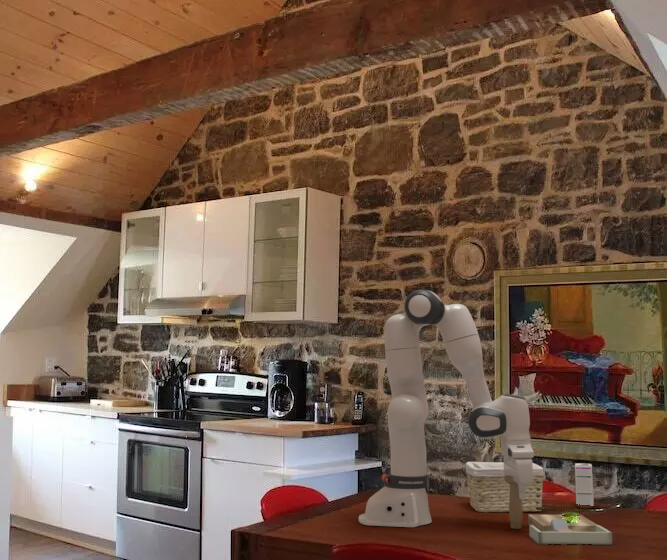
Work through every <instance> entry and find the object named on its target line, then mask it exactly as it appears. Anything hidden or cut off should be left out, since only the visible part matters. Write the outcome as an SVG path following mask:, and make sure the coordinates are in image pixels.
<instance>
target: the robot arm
mask: <svg viewBox="0 0 667 560" xmlns="http://www.w3.org/2000/svg"><path fill="white" fill-rule="evenodd" d="M403 306H404V307H403V309H404V312H402V313H398V314H394V315H391V316H390V317H389V318H387V320H386V322H385V325H384V326H385V327H384V350H385V351H384V353H385V355H384V356H385V364H386V375H387V379H388V383H389V386H390V387H389V388H390V392H391V398H392V400H391V401H390V403H389V404H388V407H387V423H388V424H387V425H388V436H389V445H390V473H388V474H387V473H383V474H382V475H381V480H382V481H383V487H382V488H380V489H379V490H378V491H377V492H375V493H374V494H373V495H372V496H370V497H369V499H368V500H367V502H366V505H365V506H366V507H365V512H364V513H362V514H359V516H358V522H359V523H360V524H361V525H365V526H377V527H397V528H398V527H399V528H401V527H402V528H403V527H404V528H417V527H419V526H424V525H428V524H431V523H432V522H433V520H432V517H431V512H430V507H429V499H428V493H429V475H428V473H427V447H426V436H425V421H427V418H428V416H429V404H428V402H429V401H428V397H427V389H426V385H425V379H424V374H423V366H422V365H423V363H422V354H421V345H420V331H421V330H424V329H425V328H428V327H430V326H433V325H434V326H435V327H437V329H438V330H439V332H440V335H441V338H442V342H443V346H444V348H445V351H446V354H447V356H448V358H449V360H450V362H451V365H453V367H455V369H457V371H458V372H459V373H460V374H461V376H462V377H463V379H464V382H465V384H466V389H467V391H468V393H469V398H470V401H471V403H472V411H471V413H470V414H469V417H468V426H469V429H470V431H471V432H472V433H473V434H474V435H475V436H477V437H478V438H483V439H486V438H487V439H489V438H492V437H496V436H499V437H500V455H502V456H503V462H504V475H505V476H508V475H509V476H511V477H512V478H513V481H515V482H516V483H518V487H519V492H518V497H519V498H520V499H525V498H526V495H525V493H526V488H527V485H530V484H531V482H532V463H533V459H532V458H534V457H535V452H534V450H533V448H532V443H531V442H532V441H531V435H530V434H531V433H530V426H531V419H530V410H529V405H528V401H527V400H526V399H525V398H524V397H523V396H520V395H516V394H509V393H505V394H501V395H500V396H499V397H498V398H496V399H494V400H493V397H492V396H491V392H490V388H489V386H488V383H487V379H486V376H485V372H484V360H483V349H482V348H483V347H482V343H481V339H480V334H479V332H478V329H477V326H476V324H475V323H476V322H475V321H474V319H473V316H472V314H471V312H470V311H469V308H468V307H467V306H466V305H464V304H461V303H451V304H444V302H443V300H442V298H441V297H440V296H439V295H438V294H437V293H435V292H433V291H431V290H428V289H417V290H413V291H412V292H410V293H409V295H407V297H406V299H405V301H404V305H403Z"/></svg>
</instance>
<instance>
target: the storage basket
mask: <svg viewBox="0 0 667 560" xmlns="http://www.w3.org/2000/svg"><path fill="white" fill-rule="evenodd" d="M465 473H466V475H467V480H468V481H467V485H468V493H469V503H470V504H469V505H470V506H471V507H472V508H473V510H475V511H476V512H480V513H481V512H482V513H491V512H492V513H506V512H507V513H509V497H510V485H509V483H507V482H506V481H505V480H504V476H505V475H504V461H503V462H501V461H500V462H499V461H498V462H496V461H495V462H494V461H493V462H490V461H486V462H485V461H467V462H466V463H465ZM544 475H545V472H544V467H543V466H540V465H539V464H537V463H534V462H532V482H531V484H530V485H527V488H526V493H525V495H526V498H525V499H522V506H523V508H522V509H523V512H526V513H528V512H542V510H537V509H536V507H542V508H543V486H544V485H543V484H544V483H543V482H544Z"/></svg>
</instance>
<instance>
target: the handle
mask: <svg viewBox="0 0 667 560" xmlns="http://www.w3.org/2000/svg"><path fill="white" fill-rule="evenodd" d="M504 480H505V481H506V482H507V483H509V485H510V497H509V512H508V516H509V522H510V523H509V524H510V528H511V529H516V530H519V529H522V522H523V516H524V515H523V514H524V513H523V512H524V511H523V509H522V508H523V506H522V499H520V498H519V497H518V492H519V487H518V483H516V482H515V481H513V478H512V477H511V476H509V475H508V476H504Z"/></svg>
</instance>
